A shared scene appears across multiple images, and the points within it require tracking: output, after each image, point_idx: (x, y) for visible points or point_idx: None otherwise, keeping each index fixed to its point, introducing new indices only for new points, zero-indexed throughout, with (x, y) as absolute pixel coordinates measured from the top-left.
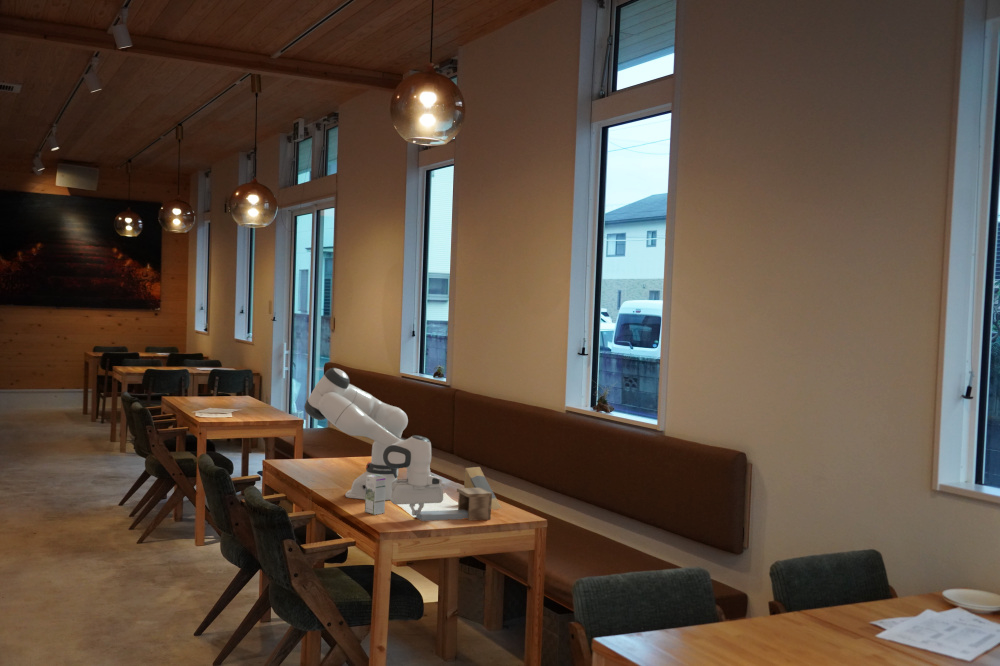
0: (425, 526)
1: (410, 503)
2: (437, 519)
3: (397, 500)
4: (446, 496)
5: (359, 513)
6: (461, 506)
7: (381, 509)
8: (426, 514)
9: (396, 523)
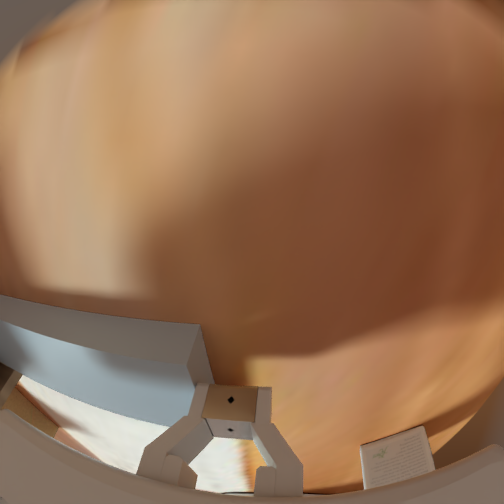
0: (219, 78)
1: (331, 500)
2: (76, 313)
3: (494, 483)
4: (107, 463)
5: (444, 429)
6: (1, 377)
7: (383, 456)
8: (138, 368)
9: (461, 273)
